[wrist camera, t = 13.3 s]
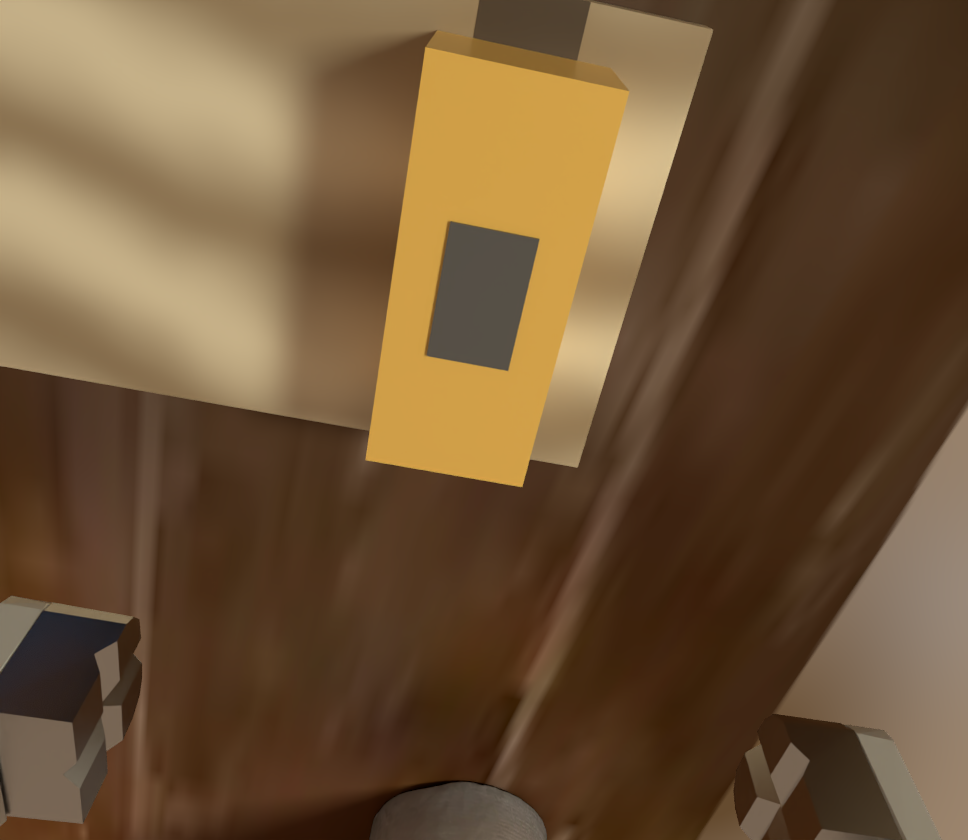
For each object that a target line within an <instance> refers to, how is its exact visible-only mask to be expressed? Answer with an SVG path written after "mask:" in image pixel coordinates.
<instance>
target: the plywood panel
mask: <svg viewBox="0 0 968 840" xmlns="http://www.w3.org/2000/svg"><path fill="white" fill-rule="evenodd" d="M437 30H439V31H443V32H448V33H452V34H457V35H462V36H466V37H471V38H475V39H480V40H484V41H489V42H494V43H498V44H503V45H507V46H512V47H517V48H521V49H526V50H530V51H535V52H540V53H544V54H549V55H553V56H558V57H562V58H567V59H572V60H576V61H581V62H585V63H590V64H595V65H599V66H604V67H608V68H611V69H612V70H613V71H614V73H615V74H616V75H617V76H618V78H619V79H620V80H621V81H622V83H623V84H624V85H625V86H626V88H627V89H628V90H629V95H628V99H627V102H626V106H625V110H624V113H623V117H622V121H621V125H620V128H619V132H618V136H617V139H616V143H615V147H614V150H613V154H612V158H611V161H610V165H609V169H608V172H607V176H606V180H605V183H604V187H603V191H602V195H601V198H600V202H599V206H598V209H597V213H596V217H595V220H594V224H593V228H592V231H591V235H590V239H589V242H588V246H587V250H586V254H585V257H584V261H583V265H582V268H581V272H580V276H579V279H578V283H577V287H576V290H575V294H574V298H573V301H572V305H571V309H570V312H569V316H568V320H567V324H566V327H565V331H564V335H563V338H562V342H561V346H560V349H559V353H558V357H557V360H556V364H555V368H554V371H553V375H552V379H551V382H550V386H549V390H548V394H547V397H546V401H545V405H544V408H543V412H542V416H541V419H540V423H539V427H538V430H537V434H536V438H535V441H534V445H533V449H532V453H531V456H530V459H532V460H538V461H544V462H549V463H555V464H561V465H566V466H572V467H578V464H579V461H580V458H581V454H582V451H583V448H584V445H585V442H586V438H587V435H588V432H589V429H590V425H591V422H592V419H593V416H594V413H595V409H596V406H597V403H598V400H599V396H600V393H601V390H602V387H603V384H604V380H605V377H606V374H607V371H608V367H609V364H610V361H611V358H612V355H613V351H614V348H615V345H616V342H617V338H618V335H619V332H620V329H621V326H622V322H623V319H624V316H625V313H626V309H627V306H628V303H629V300H630V297H631V293H632V290H633V287H634V284H635V280H636V277H637V274H638V271H639V268H640V264H641V261H642V258H643V255H644V251H645V248H646V245H647V242H648V239H649V235H650V232H651V229H652V226H653V222H654V219H655V216H656V213H657V210H658V206H659V203H660V200H661V197H662V193H663V190H664V187H665V184H666V181H667V177H668V174H669V171H670V168H671V164H672V161H673V158H674V155H675V152H676V148H677V145H678V142H679V139H680V135H681V132H682V129H683V126H684V123H685V119H686V116H687V113H688V110H689V106H690V103H691V100H692V97H693V94H694V90H695V87H696V84H697V81H698V77H699V74H700V71H701V68H702V65H703V61H704V58H705V55H706V52H707V48H708V45H709V42H710V39H711V36H712V32H713V29H711V28H709V27H707V26H704V25H700V24H696V23H691V22H687V21H682V20H678V19H673V18H669V17H665V16H660V15H656V14H651V13H647V12H642V11H638V10H633V9H629V8H625V7H620V6H616V5H611V4H607V3H602V2H598V1H593V0H0V366H4V367H10V368H15V369H21V370H27V371H32V372H38V373H44V374H49V375H55V376H61V377H66V378H72V379H78V380H83V381H89V382H95V383H101V384H106V385H112V386H118V387H123V388H129V389H135V390H140V391H146V392H152V393H157V394H163V395H169V396H174V397H180V398H186V399H191V400H197V401H203V402H208V403H214V404H220V405H226V406H231V407H237V408H243V409H248V410H254V411H260V412H265V413H271V414H277V415H282V416H288V417H294V418H299V419H305V420H311V421H316V422H322V423H328V424H333V425H339V426H345V427H350V428H356V429H362V430H368V431H370V426H371V419H372V412H373V405H374V398H375V392H376V385H377V378H378V371H379V364H380V357H381V350H382V343H383V336H384V329H385V322H386V316H387V309H388V302H389V295H390V288H391V281H392V274H393V267H394V260H395V253H396V247H397V240H398V233H399V226H400V219H401V212H402V205H403V198H404V191H405V184H406V178H407V171H408V164H409V157H410V150H411V143H412V136H413V129H414V122H415V115H416V109H417V102H418V95H419V88H420V81H421V74H422V67H423V60H424V53H425V47H426V46H427V44H428V43H429V41H430V40H431V38H432V37H433V36H434V34H435V33H436V31H437Z"/></svg>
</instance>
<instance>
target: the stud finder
mask: <svg viewBox="0 0 968 840" xmlns="http://www.w3.org/2000/svg"><path fill="white" fill-rule="evenodd" d="M628 95H629V90H628V89H627V88H626V86H625V85H624V84H623V83H622V81H621V80H620V79H619V78H618V76H617V75H616V74H615V73H614V71H613V70H612V69H611V68H608V67H604V66H599V65H595V64H590V63H585V62H581V61H576V60H572V59H567V58H562V57H558V56H553V55H549V54H544V53H540V52H535V51H530V50H526V49H521V48H517V47H512V46H507V45H503V44H498V43H494V42H489V41H484V40H480V39H475V38H471V37H466V36H462V35H457V34H452V33H448V32H443V31H439V30H437V31H436V33H435V34H434V36H433V37H432V38H431V40H430V41H429V43H428V44H427V46H426V47H425V53H424V60H423V67H422V74H421V81H420V88H419V95H418V102H417V109H416V115H415V122H414V129H413V136H412V143H411V150H410V157H409V164H408V171H407V178H406V184H405V191H404V198H403V205H402V212H401V219H400V226H399V233H398V240H397V247H396V253H395V260H394V267H393V274H392V281H391V288H390V295H389V302H388V309H387V316H386V322H385V329H384V336H383V343H382V350H381V357H380V364H379V371H378V378H377V385H376V392H375V398H374V405H373V412H372V419H371V426H370V433H369V440H368V447H367V454H366V460H368V461H374V462H380V463H386V464H391V465H397V466H403V467H409V468H414V469H420V470H426V471H432V472H438V473H443V474H449V475H455V476H461V477H467V478H472V479H478V480H484V481H490V482H495V483H501V484H507V485H513V486H519V487H522V486H523V482H524V478H525V475H526V471H527V467H528V464H529V460H530V456H531V453H532V449H533V445H534V441H535V438H536V434H537V430H538V427H539V423H540V419H541V416H542V412H543V408H544V405H545V401H546V397H547V394H548V390H549V386H550V382H551V379H552V375H553V371H554V368H555V364H556V360H557V357H558V353H559V349H560V346H561V342H562V338H563V335H564V331H565V327H566V324H567V320H568V316H569V312H570V309H571V305H572V301H573V298H574V294H575V290H576V287H577V283H578V279H579V276H580V272H581V268H582V265H583V261H584V257H585V254H586V250H587V246H588V242H589V239H590V235H591V231H592V228H593V224H594V220H595V217H596V213H597V209H598V206H599V202H600V198H601V195H602V191H603V187H604V183H605V180H606V176H607V172H608V169H609V165H610V161H611V158H612V154H613V150H614V147H615V143H616V139H617V136H618V132H619V128H620V125H621V121H622V117H623V113H624V110H625V106H626V102H627V99H628Z"/></svg>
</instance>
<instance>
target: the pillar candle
mask: <svg viewBox="0 0 968 840" xmlns="http://www.w3.org/2000/svg"><path fill="white" fill-rule="evenodd" d="M369 840H547V835H546V829H545V827H544V823H543V821H542V820H541V818H540V817H539V815H538V814H537V813H536V812H535V810H534V809H533V808H531V807H530V806H529V805H528V804H527V803H525V802H524V801H523V800H521V799H520V798H518V797H516V796H514V795H512V794H510V793H508V792H505V791H502V790H499V789H497V788H495V787H491V786H486V785H480V784H476V783H472V782H454V783H447V784H444V785H440V786H435V787H429V788H424V789H419V790H414V791H409V792H405V793H402V794H399V795H397V796H396V797H394V798H392V799H391V800H389V801H388V802H387V803H386V804H384V805H383V807H382V808H381V809H380V811H379V812H378V813H377V814H376V816H375V818H374V820H373V824H372V829H371V833H370V838H369Z"/></svg>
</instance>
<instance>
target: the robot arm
mask: <svg viewBox="0 0 968 840" xmlns="http://www.w3.org/2000/svg"><path fill="white" fill-rule="evenodd" d="M140 639H141V634H140V622H139V619H137V618H135V617H131V616H125V615H119V614H114V613H108V612H103V611H97V610H92V609H86V608H80V607H75V606H69V605H64V604H58V603H50V602H44V601H38V600H32V599H26V598H21V597H15V596H10V597H9V598H7V599H6V600H5V601H3V602H2V603H0V826H1V825H2V824H3V823H4V822H6V820H7V817H6V816H14V817H24V818H33V819H43V820H52V821H62V822H72V823H81V824H83V822H84V820H85V818H86V816H87V814H88V812H89V810H90V808H91V806H92V804H93V802H94V800H95V797H96V795H97V793H98V791H99V789H100V787H101V785H102V783H103V781H104V779H105V777H106V774H107V756H106V751H107V750H109V749H110V748H112V747H113V746H115V745H116V744H117V743H119V742H120V741H122V740H123V738H124V736H125V734H126V732H127V730H128V727H129V725H130V723H131V721H132V718H133V715H134V712H135V708H136V705H137V702H138V698H139V695H140V688H141V681H142V663H141V662H140V661H139V660H138V659H137V658H136V656H135V655H134V654H133V653H134V651H135V649H136V647H137V645H138V643H139V641H140ZM757 733H758V736H759V740H760V743H761V745H759V746H757V747H755V748H753V749H751V750H749V751H748V752H746V753H744V755H743V757H742V759H741V761H740V763H739V765H738V767H737V769H736V776H735V783H734V802H735V810H736V814H737V818H738V822H739V826H740V828H742V830H743V831H744V832H745V833H746V834H747V836H748V837H749V838H750V839H751V840H942V839H941V837H940V835H939V833H938V831H937V829H936V827H935V825H934V823H933V821H932V819H931V817H930V815H929V812H928V810H927V808H926V806H925V804H924V802H923V800H922V798H921V796H920V794H919V792H918V790H917V788H916V786H915V784H914V782H913V780H912V778H911V776H910V774H909V772H908V769H907V767H906V765H905V763H904V761H903V759H902V757H901V755H900V753H899V751H898V749H897V747H896V745H895V743H894V741H893V739H892V738H891V737H890V736H889V735H888V734H887V733H886V732H885V731H884V730H879V729H872V728H865V727H859V726H852V725H843V724H841V723H835V722H828V721H819V720H813V719H806V718H799V717H792V716H785V715H778V714H772V715H770V716H769V717H767V718H765V719H764V721H763V722H762V724H761V726H760V727H759V729H758V731H757Z"/></svg>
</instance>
